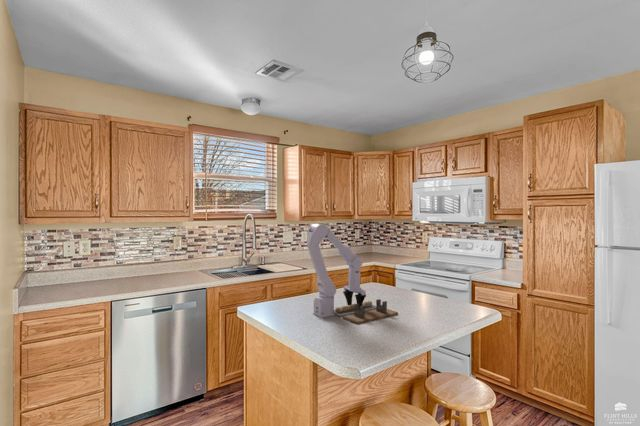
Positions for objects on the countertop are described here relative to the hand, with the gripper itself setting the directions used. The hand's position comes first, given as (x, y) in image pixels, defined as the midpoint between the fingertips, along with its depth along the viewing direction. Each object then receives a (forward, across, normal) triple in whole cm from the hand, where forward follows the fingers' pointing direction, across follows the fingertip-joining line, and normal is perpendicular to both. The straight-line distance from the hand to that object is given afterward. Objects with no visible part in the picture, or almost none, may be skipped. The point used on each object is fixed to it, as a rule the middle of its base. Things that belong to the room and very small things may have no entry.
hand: (354, 306), depth 170 cm
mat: (+2, 0, 0) cm, 2 cm away
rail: (+1, 0, 0) cm, 1 cm away
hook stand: (+2, -12, 0) cm, 12 cm away
